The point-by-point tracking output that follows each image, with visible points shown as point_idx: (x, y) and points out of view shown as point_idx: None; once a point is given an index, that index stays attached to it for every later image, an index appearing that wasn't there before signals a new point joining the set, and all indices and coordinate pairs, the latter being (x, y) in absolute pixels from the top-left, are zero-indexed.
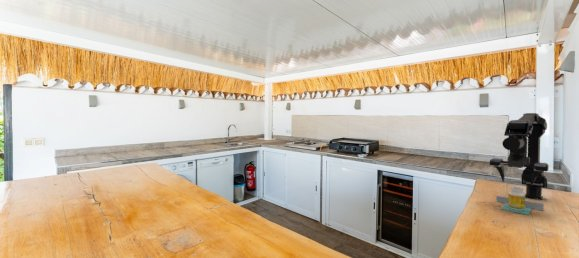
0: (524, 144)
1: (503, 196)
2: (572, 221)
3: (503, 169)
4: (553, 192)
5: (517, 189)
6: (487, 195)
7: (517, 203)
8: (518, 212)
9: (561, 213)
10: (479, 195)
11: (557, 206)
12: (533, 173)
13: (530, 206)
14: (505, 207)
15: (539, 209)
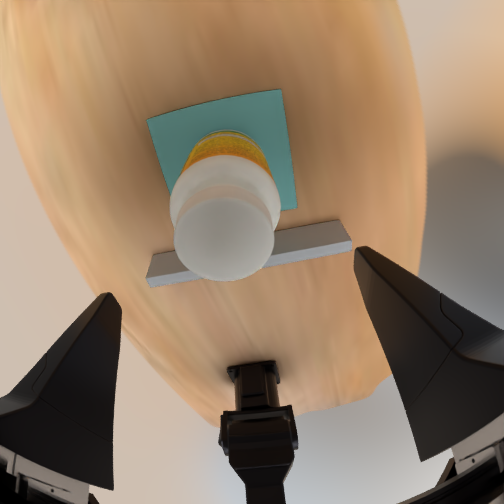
0: None
1: (321, 255)
2: (49, 216)
3: (417, 407)
4: None
5: (200, 197)
6: None
7: (204, 144)
8: (192, 106)
9: (114, 282)
10: (408, 254)
11: (168, 344)
12: (15, 407)
13: None
14: (271, 132)
15: (164, 254)
